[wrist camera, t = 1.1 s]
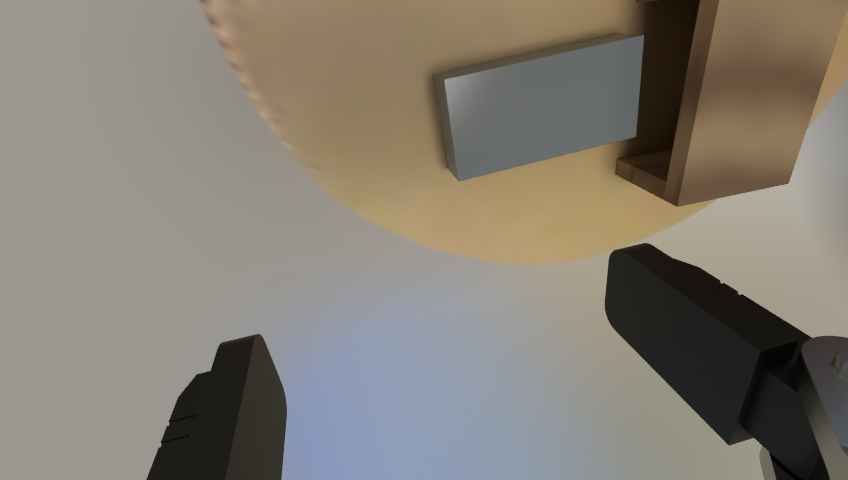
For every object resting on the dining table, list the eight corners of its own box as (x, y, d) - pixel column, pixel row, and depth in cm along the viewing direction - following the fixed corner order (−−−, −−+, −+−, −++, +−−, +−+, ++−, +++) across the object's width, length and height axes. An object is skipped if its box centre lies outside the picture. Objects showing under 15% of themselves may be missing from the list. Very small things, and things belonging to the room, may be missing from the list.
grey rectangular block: (431, 73, 25) (444, 79, 23) (612, 33, 27) (644, 34, 24) (445, 166, 28) (458, 181, 26) (608, 126, 30) (636, 136, 27)
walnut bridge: (710, 156, 32) (788, 183, 27) (615, 174, 31) (677, 206, 26) (754, -36, 26) (866, -50, 21) (638, -22, 25) (726, -33, 20)
